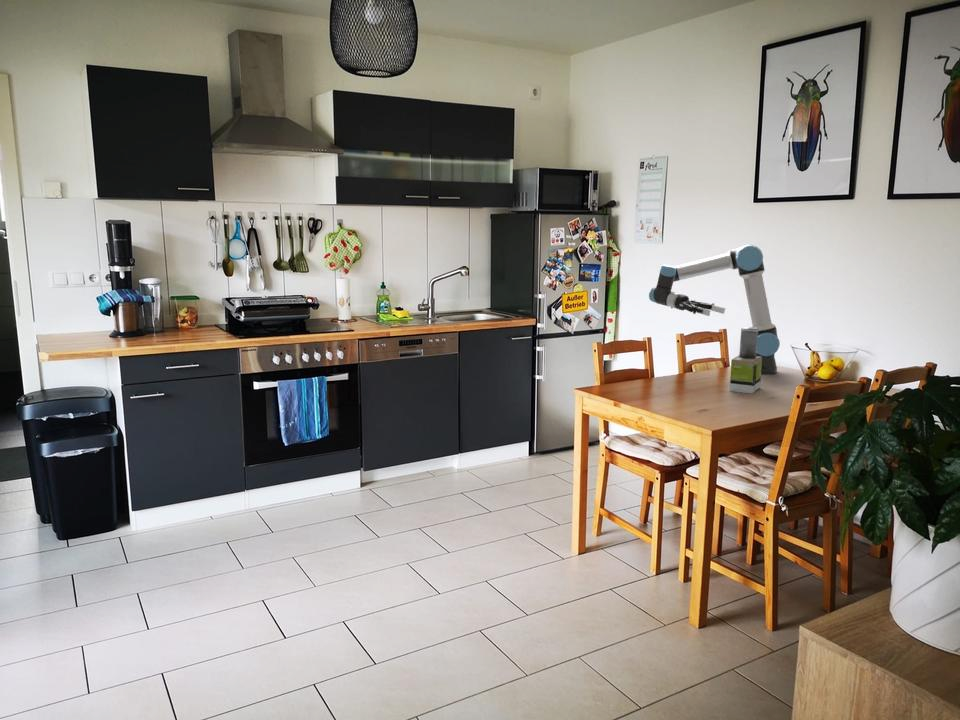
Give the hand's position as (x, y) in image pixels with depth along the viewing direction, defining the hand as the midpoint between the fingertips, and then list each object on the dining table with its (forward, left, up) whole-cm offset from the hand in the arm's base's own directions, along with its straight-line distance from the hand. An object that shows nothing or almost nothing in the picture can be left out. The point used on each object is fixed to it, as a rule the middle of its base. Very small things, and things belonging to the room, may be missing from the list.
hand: (717, 312), depth 339 cm
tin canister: (+5, +23, -17) cm, 30 cm away
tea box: (+5, +24, -32) cm, 40 cm away
